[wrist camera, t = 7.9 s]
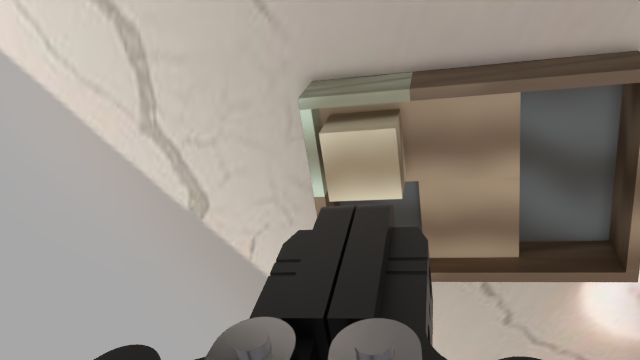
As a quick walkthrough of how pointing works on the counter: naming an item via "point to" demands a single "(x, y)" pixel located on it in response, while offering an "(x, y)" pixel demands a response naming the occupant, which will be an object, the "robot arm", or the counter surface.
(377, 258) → the robot arm
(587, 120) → the tray
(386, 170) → the maple block
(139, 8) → the counter surface
